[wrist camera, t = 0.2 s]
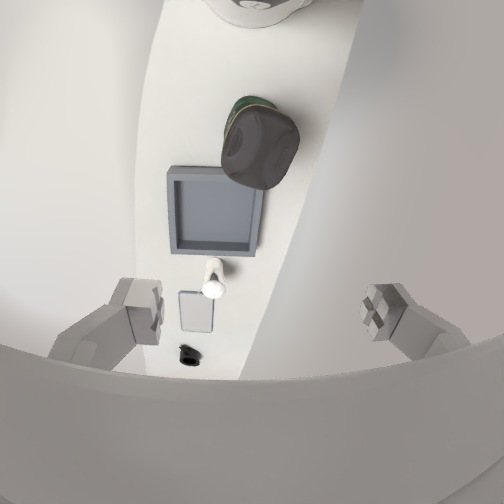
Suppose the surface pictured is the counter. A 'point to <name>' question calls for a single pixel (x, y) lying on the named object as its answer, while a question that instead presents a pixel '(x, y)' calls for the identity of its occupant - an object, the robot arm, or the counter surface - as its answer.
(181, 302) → the smartphone
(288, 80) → the counter surface
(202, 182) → the tray
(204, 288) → the milkshake
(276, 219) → the counter surface
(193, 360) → the black wing nut
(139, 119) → the counter surface
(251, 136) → the coffee jar
